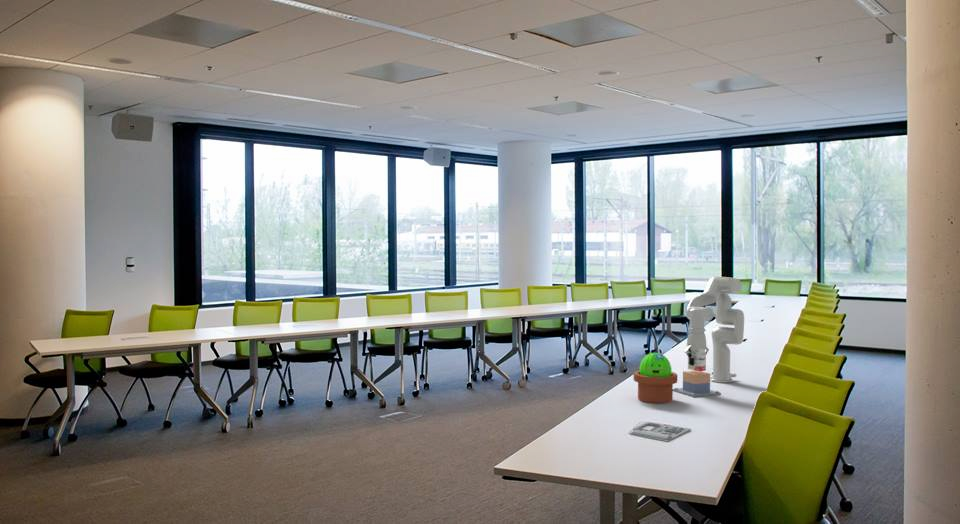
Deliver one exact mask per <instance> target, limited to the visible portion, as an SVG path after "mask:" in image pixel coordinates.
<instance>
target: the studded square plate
mask: <svg viewBox="0 0 960 524" xmlns="http://www.w3.org/2000/svg"><path fill="white" fill-rule="evenodd" d="M710 378H711V373H710V372H707V371H695V370H686V371H684V370H683V371H682V387H680V388H678V387H674V388H673V392H675V393H677V394H681V395H684V396H687V395H688V396H687V397H692V398H702V397H703V398H704V397H711V395H713V396H720V395H722V392H720V391H718V390H712V389H711V380H710Z"/></svg>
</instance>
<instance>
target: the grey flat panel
mask: <svg viewBox="0 0 960 524" xmlns="http://www.w3.org/2000/svg"><path fill="white" fill-rule="evenodd" d="M646 426H652V427H653V428H651V429H646ZM644 427H645V428H644ZM632 430H633V431H631V432H630V434H629V436H630V435H631V436H636V437H641V438H645V439H649V440H653V441H654V440H655V441H660V442H665V443H668V442H670V441H672V440H674V439H677V438H679V437H681V436H682V435H685V434H687V433H689V432H691V431H692V429H691V428H687V427H682V426H676V425H671V424H670V425H669V424H660V423H654V422H650V421H647V422H645V423H642V424H640V425H637V426H635V427H633V428H632Z"/></svg>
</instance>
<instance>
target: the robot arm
mask: <svg viewBox="0 0 960 524" xmlns="http://www.w3.org/2000/svg"><path fill="white" fill-rule="evenodd" d="M741 290H742V282H741V280H740V279H739V278H734V277H729V276H728V277H727V276H713V277H710V278H709V280H708V281H707V284H706V286H705V288H704V290H703V292H702V293H700V294H698V295H697V296H695V297H694V298H693V299H691V300H690V302H689V303H688V305H687V308H686V311H685V314H686V315H685V317H686V318H687V319H688V320H689V333H688V334H687V340H686V348H685V350H684V351H683V352H684V353H685V355H686V356H687V358H688V357H689V365H692V366H693V365H694V358H693V356H694V353H696V352H697V349H706V355H707V354H708V353H709V351H710V349H709V348H708V346H707V338H706V334H705V332H706V331H707V330H706V328H705V322H709V321H712V319H713V318H714V315H715V323H717V324H719V325H725V326H717V327H714V328H712V330H711V339H712V341H711V342H712V377H711V376H710V382H713V381H714V383H719V384H720V383H722V384H723V383H724V384H725V383H726V384H728V383H732V382H733V381H734V379H733V378H736V377H737V374H736V373H732V372H731V350H730V348H729V346H728V345H737V346H738V345H741V344H742V343H743V341H744V334H745V331H744V330H745V314H744V311H743V310H741V309H738V308H732V302H733V301H732V298H731V296H730V295H729V294H739V293H740V292H741ZM714 303H715V313H714V310H713V308H711V307H707V306H709V305H711V304H714ZM727 326H728V327H727ZM729 326H734V327H729ZM689 351H690V352H689ZM691 354H692V355H691Z"/></svg>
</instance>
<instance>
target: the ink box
mask: <svg viewBox="0 0 960 524" xmlns="http://www.w3.org/2000/svg"><path fill="white" fill-rule="evenodd" d="M689 352H690V351H689ZM691 355H692V354H691ZM693 358H694V365H693V366H692V365H689V357H688V356H687V370H688V371H703V372H706V371H707V370H706V369H707V354H706V349H697V352H696V353H694V356H693Z"/></svg>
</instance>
